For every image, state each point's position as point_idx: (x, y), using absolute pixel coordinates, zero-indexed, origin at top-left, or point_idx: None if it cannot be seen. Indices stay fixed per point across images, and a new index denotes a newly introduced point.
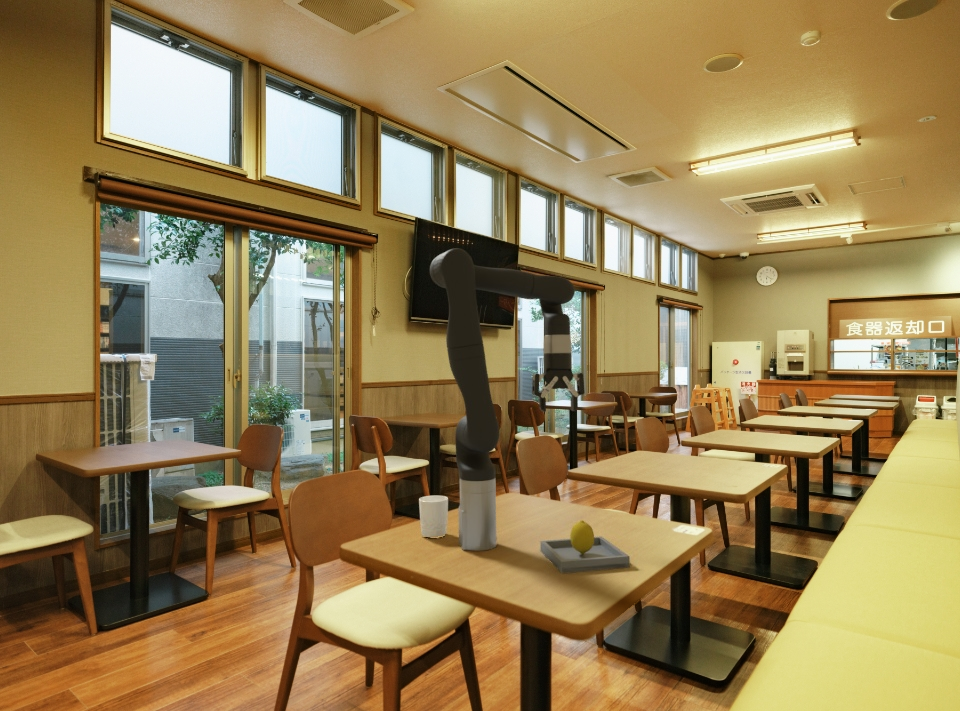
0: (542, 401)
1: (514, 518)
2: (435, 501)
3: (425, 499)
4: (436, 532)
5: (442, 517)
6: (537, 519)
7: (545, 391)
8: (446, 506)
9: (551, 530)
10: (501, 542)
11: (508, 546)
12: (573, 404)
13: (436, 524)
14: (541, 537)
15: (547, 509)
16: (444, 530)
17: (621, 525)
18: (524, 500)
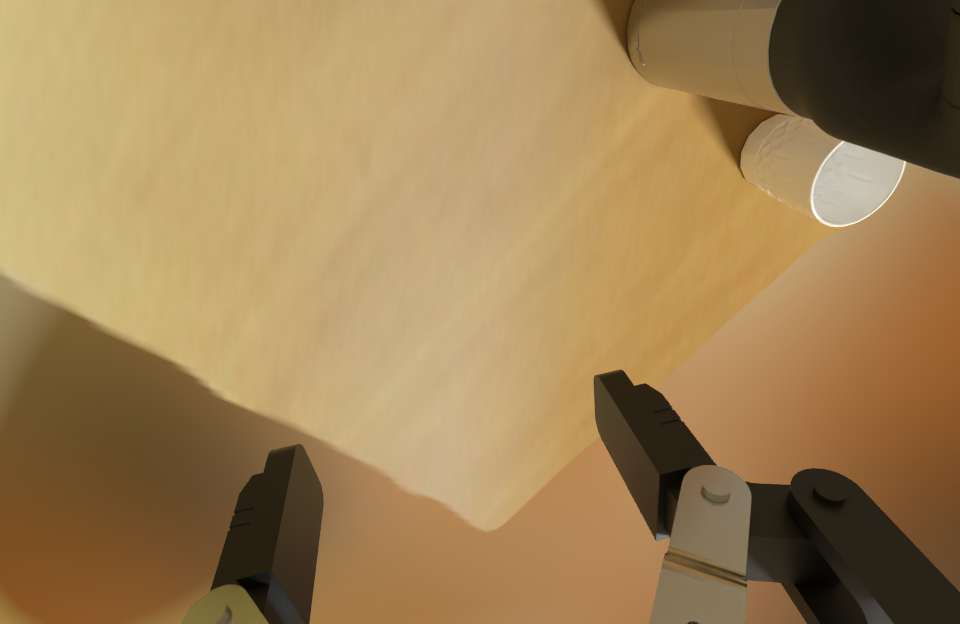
0: (674, 446)
1: (524, 314)
2: (822, 216)
3: (862, 208)
4: (788, 116)
5: (801, 130)
6: (460, 304)
7: (714, 550)
8: (807, 154)
9: (431, 186)
10: (605, 58)
11: (592, 7)
12: (286, 492)
13: (806, 118)
14: (473, 107)
15: (418, 401)
16: (762, 135)
17: (190, 234)
18: (471, 478)
